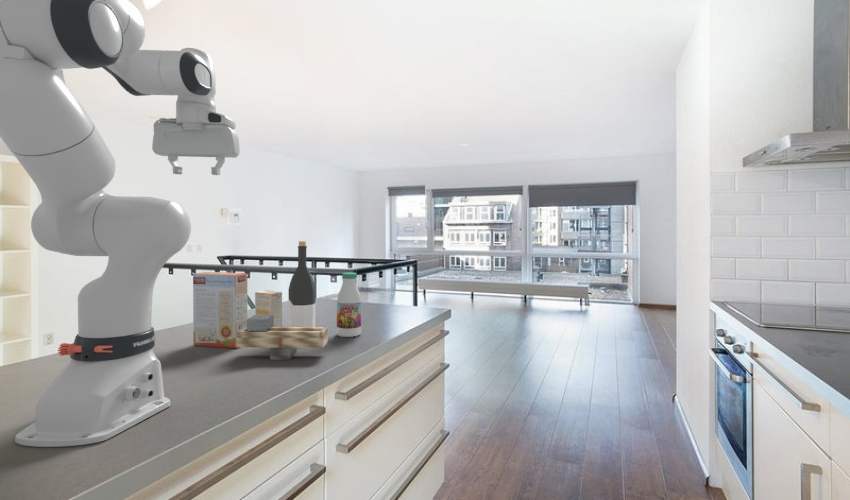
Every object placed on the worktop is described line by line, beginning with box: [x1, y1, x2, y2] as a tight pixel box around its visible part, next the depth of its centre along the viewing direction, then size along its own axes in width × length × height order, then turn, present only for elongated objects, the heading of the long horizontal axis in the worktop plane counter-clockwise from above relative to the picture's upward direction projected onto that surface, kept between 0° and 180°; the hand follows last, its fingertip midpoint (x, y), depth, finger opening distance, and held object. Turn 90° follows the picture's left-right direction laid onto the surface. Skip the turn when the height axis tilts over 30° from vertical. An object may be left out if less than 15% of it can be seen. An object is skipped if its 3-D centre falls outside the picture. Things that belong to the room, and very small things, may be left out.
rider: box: [247, 314, 274, 331], centre depth 115 cm, size 5×6×5 cm
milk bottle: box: [336, 272, 362, 338], centre depth 140 cm, size 8×8×20 cm
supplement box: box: [254, 289, 283, 327], centre depth 144 cm, size 8×5×13 cm, turn 58°
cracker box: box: [192, 271, 248, 349], centre depth 126 cm, size 14×6×21 cm, turn 76°
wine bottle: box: [287, 240, 316, 327], centre depth 135 cm, size 8×8×30 cm
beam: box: [237, 326, 329, 361], centre depth 116 cm, size 22×7×7 cm, turn 92°
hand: (196, 174), depth 110 cm, fingers open, 8 cm apart
